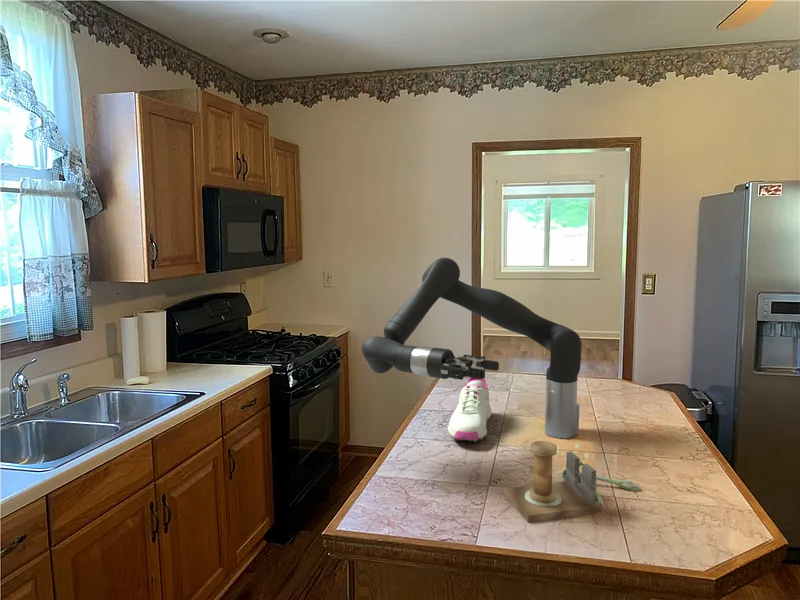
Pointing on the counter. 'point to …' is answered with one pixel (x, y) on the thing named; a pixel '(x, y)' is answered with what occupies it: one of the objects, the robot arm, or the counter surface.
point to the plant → (621, 483)
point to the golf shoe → (471, 412)
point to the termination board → (560, 495)
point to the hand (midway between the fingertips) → (491, 370)
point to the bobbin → (543, 471)
